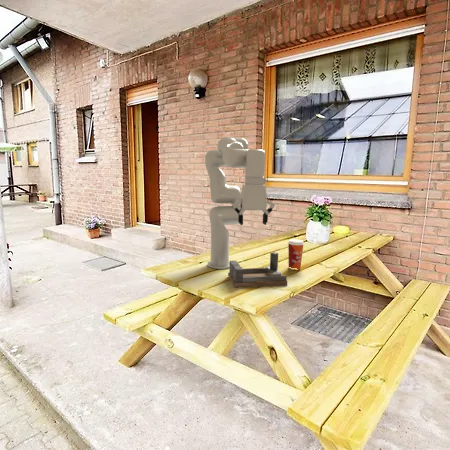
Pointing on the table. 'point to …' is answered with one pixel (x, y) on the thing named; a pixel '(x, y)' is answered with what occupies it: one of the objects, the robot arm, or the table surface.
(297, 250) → the coffee cup
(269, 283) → the base
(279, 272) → the press carriage
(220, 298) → the table surface
